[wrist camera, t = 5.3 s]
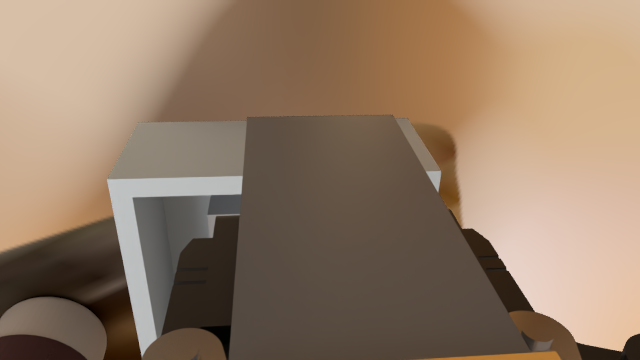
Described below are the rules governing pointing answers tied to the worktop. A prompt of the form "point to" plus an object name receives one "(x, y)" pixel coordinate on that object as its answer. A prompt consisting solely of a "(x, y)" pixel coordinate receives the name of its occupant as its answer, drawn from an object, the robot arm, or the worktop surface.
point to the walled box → (183, 201)
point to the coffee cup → (51, 331)
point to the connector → (355, 252)
